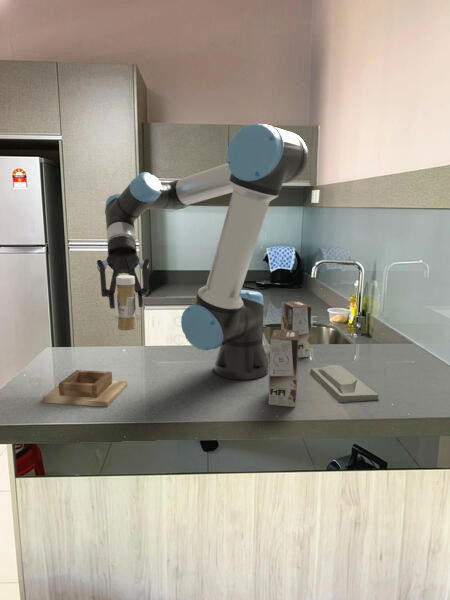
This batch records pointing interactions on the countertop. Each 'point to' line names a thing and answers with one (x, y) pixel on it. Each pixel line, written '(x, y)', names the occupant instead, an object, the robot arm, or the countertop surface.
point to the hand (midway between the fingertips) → (127, 318)
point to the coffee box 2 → (283, 367)
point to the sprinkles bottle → (126, 302)
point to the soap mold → (342, 384)
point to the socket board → (86, 389)
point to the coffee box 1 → (298, 323)
